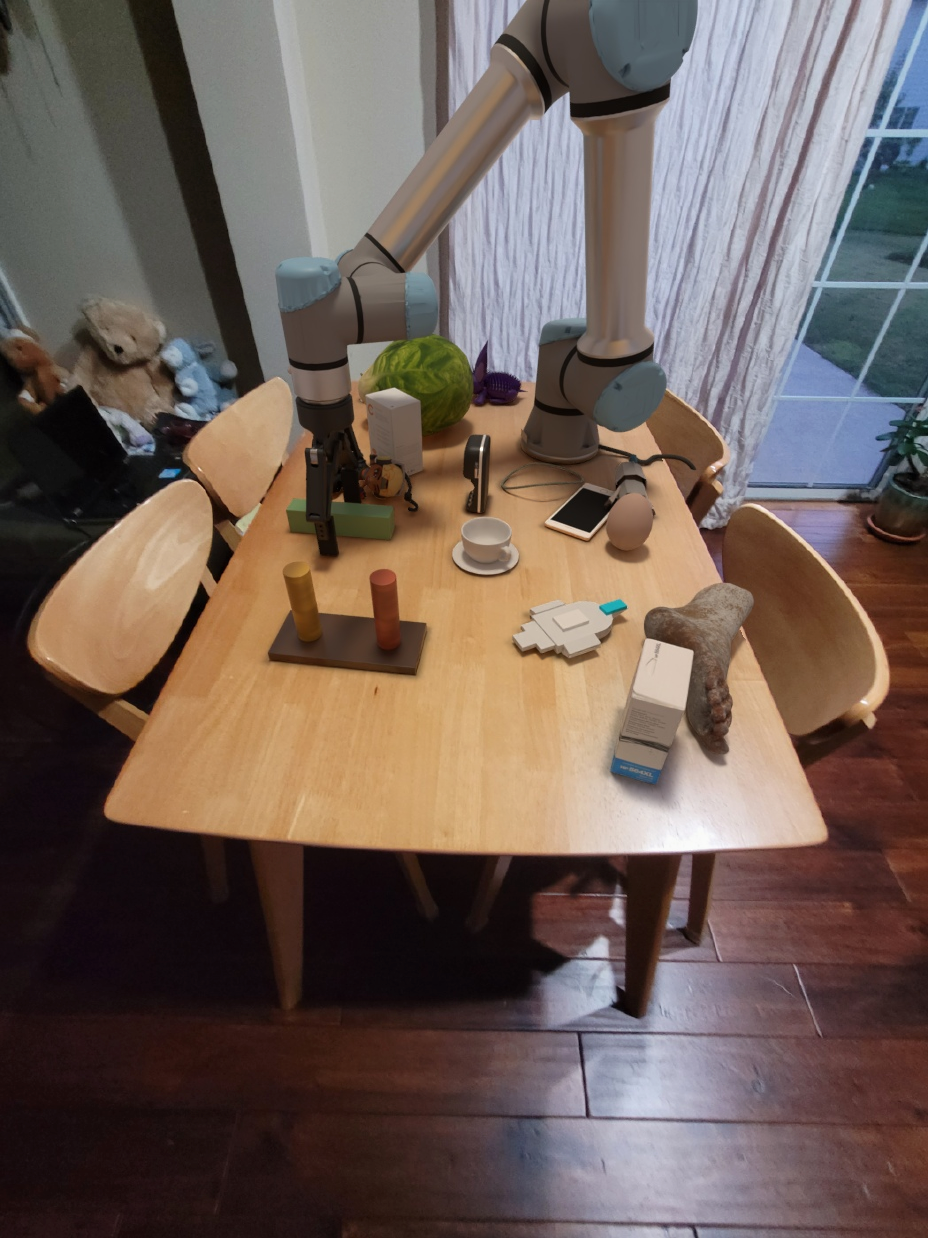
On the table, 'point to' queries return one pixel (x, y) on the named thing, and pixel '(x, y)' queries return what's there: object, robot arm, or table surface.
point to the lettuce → (424, 379)
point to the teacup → (485, 546)
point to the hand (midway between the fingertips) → (342, 529)
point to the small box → (396, 427)
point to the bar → (347, 519)
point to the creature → (493, 382)
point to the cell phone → (583, 512)
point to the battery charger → (477, 470)
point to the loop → (541, 483)
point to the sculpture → (705, 653)
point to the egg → (629, 522)
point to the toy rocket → (568, 626)
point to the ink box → (652, 710)
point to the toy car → (337, 480)
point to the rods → (347, 629)
